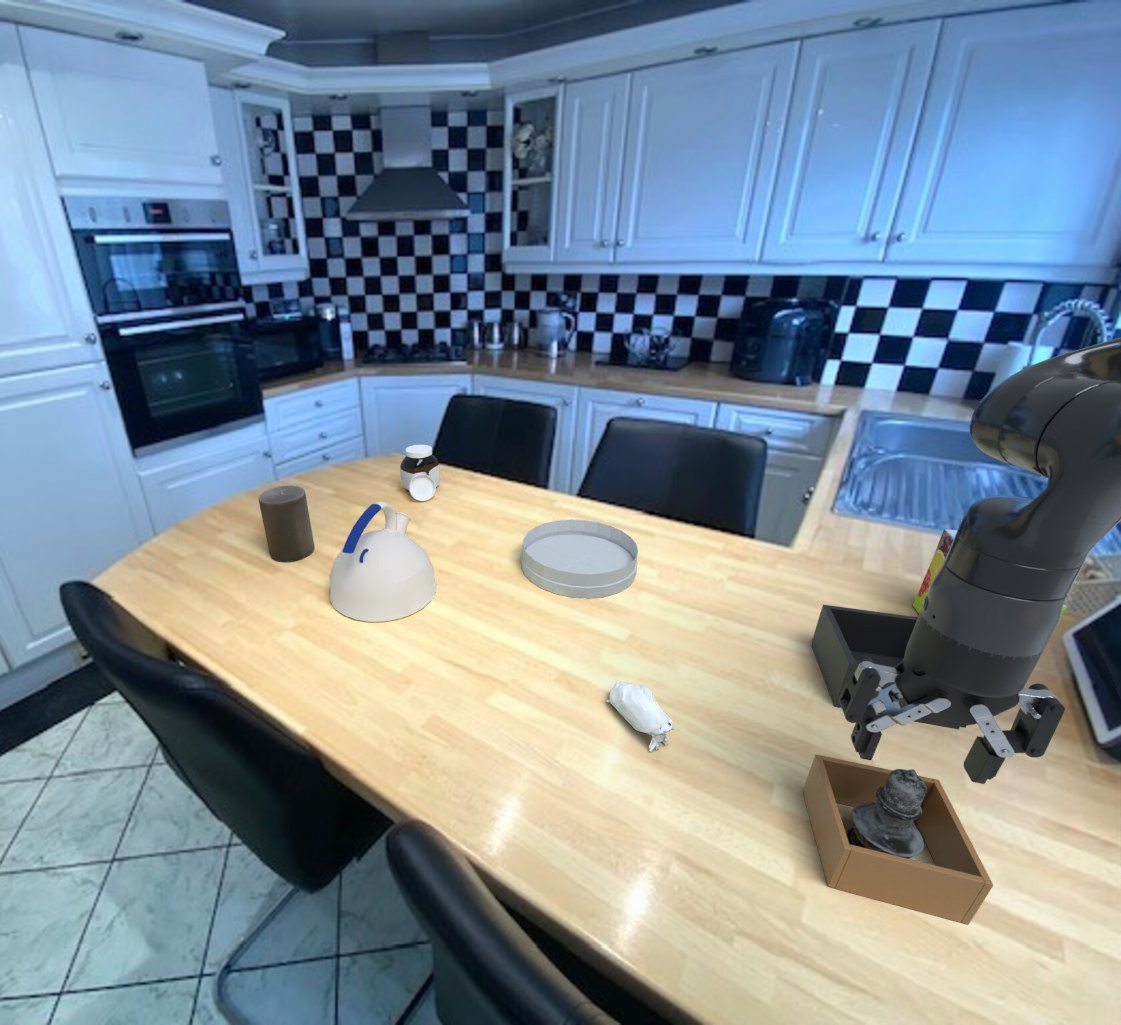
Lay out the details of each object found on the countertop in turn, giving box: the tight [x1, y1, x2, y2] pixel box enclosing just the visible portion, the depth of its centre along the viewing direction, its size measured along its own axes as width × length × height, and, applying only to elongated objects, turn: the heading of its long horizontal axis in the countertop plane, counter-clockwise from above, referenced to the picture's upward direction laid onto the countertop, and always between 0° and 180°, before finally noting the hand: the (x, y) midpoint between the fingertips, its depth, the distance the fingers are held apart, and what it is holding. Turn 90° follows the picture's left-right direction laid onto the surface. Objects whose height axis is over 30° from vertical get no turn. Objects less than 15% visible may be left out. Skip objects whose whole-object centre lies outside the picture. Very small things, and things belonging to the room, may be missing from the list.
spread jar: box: [399, 444, 441, 502], centre depth 145 cm, size 12×11×12 cm
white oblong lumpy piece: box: [605, 680, 675, 753], centre depth 73 cm, size 5×7×10 cm
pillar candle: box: [257, 484, 315, 563], centre depth 119 cm, size 10×10×15 cm
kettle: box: [329, 501, 438, 623], centre depth 102 cm, size 20×21×18 cm
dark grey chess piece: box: [846, 768, 927, 859], centre depth 55 cm, size 6×6×12 cm
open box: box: [810, 604, 961, 730], centre depth 77 cm, size 14×14×8 cm
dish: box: [520, 519, 639, 599], centre depth 110 cm, size 22×22×5 cm
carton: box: [802, 754, 994, 925], centre depth 57 cm, size 11×11×6 cm
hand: (916, 763), depth 52 cm, fingers open, 8 cm apart
